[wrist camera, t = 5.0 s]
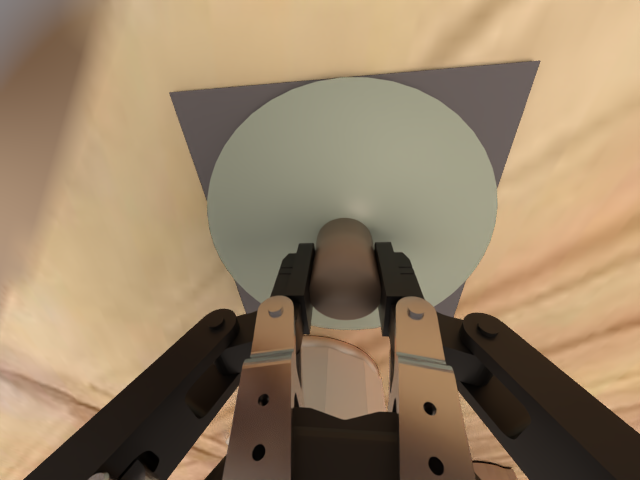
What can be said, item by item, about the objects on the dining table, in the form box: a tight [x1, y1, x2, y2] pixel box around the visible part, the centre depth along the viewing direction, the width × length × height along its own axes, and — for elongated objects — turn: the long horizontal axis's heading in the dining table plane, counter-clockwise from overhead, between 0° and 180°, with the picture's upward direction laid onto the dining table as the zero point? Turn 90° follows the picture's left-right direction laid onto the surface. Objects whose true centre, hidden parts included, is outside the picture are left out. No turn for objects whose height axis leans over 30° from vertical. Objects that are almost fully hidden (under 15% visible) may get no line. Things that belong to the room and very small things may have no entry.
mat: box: [169, 61, 540, 317], centre depth 14 cm, size 15×15×1 cm
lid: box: [207, 77, 498, 330], centre depth 12 cm, size 15×15×5 cm
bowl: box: [226, 336, 386, 444], centre depth 21 cm, size 12×12×6 cm
